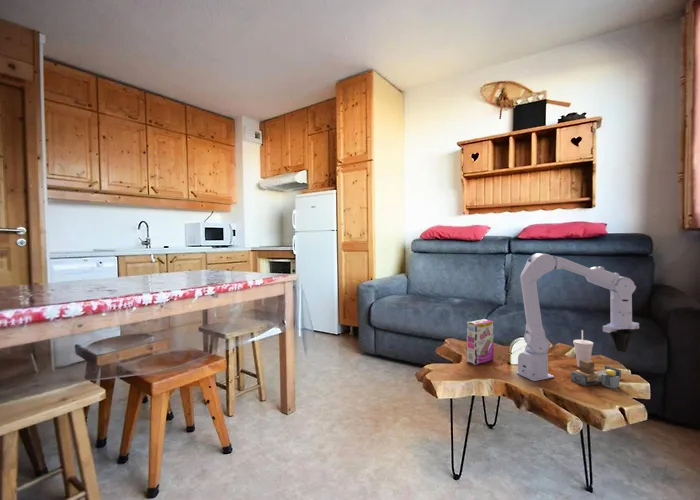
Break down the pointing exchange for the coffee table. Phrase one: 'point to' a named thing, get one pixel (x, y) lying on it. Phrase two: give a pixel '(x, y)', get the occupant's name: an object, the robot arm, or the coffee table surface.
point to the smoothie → (583, 349)
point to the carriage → (587, 370)
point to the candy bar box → (480, 341)
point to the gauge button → (610, 373)
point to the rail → (583, 380)
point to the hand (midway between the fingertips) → (621, 351)
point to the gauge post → (613, 381)
